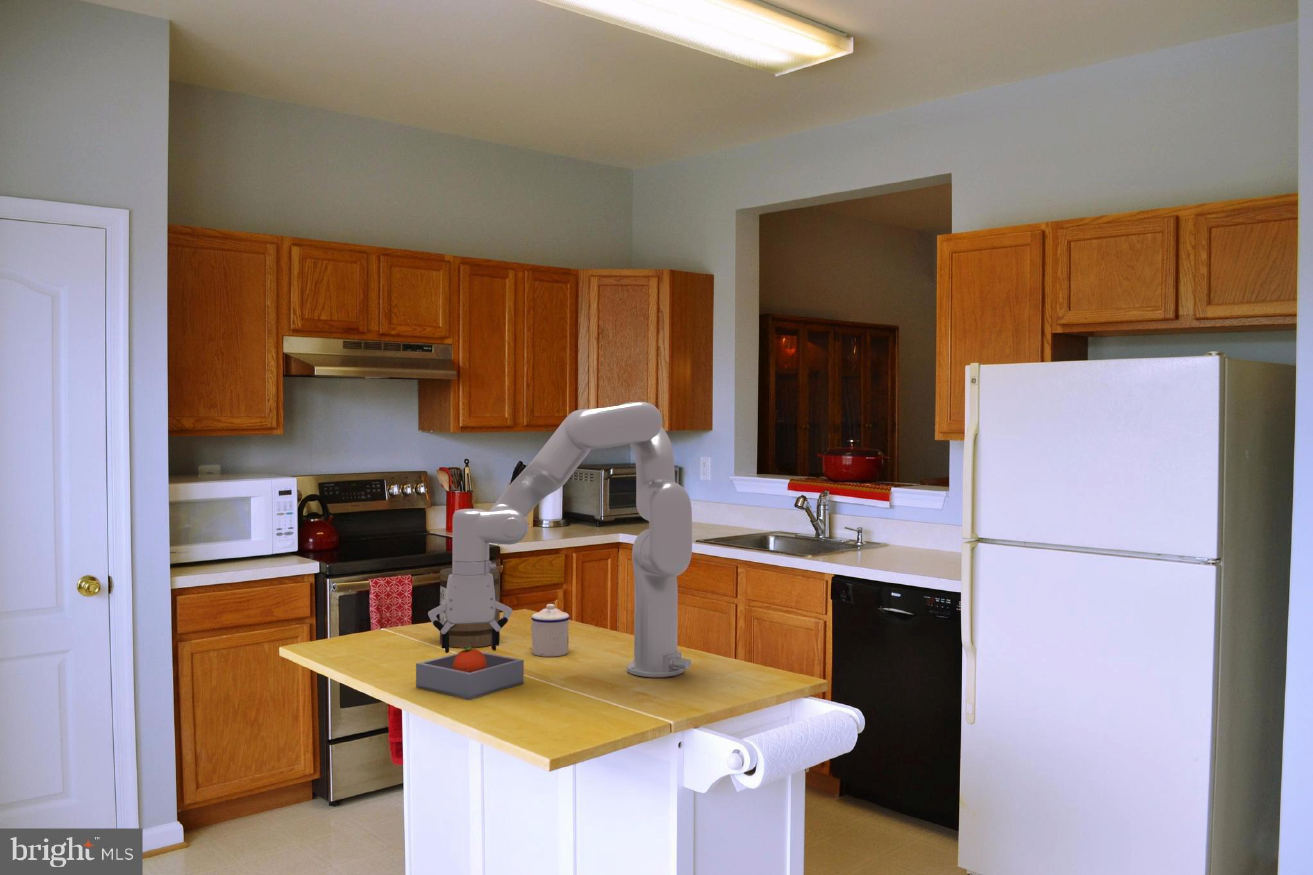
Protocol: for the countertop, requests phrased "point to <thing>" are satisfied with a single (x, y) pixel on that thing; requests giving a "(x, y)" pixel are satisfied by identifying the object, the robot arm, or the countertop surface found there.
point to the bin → (469, 676)
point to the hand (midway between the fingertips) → (470, 650)
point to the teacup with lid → (550, 632)
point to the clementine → (469, 660)
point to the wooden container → (468, 632)
